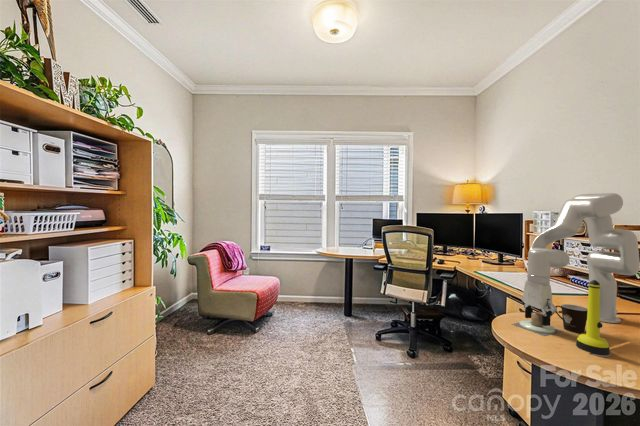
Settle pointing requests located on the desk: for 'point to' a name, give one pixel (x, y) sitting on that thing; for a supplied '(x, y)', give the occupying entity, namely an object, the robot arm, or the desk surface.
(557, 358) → the desk surface
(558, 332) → the mat
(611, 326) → the desk surface
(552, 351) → the desk surface
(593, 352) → the flashlight
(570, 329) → the coffee mug
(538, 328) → the lid
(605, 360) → the desk surface
